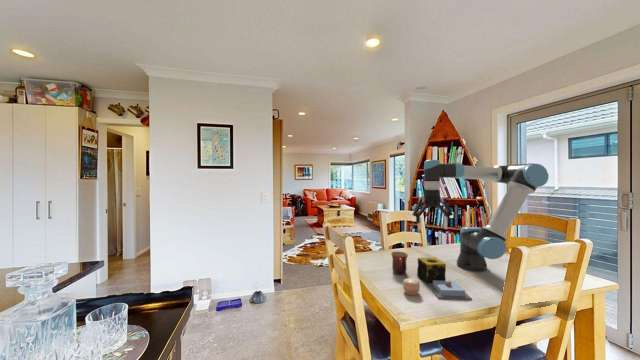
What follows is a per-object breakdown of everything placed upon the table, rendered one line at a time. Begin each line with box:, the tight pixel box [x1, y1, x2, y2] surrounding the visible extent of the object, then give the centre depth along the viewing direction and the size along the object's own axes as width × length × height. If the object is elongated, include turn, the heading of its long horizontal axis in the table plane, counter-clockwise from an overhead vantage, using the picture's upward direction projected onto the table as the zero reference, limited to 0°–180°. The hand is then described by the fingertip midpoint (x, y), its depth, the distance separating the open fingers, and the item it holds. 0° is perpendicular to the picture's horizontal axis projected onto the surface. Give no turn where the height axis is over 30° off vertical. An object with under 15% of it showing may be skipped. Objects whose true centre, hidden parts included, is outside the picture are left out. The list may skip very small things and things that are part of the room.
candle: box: [416, 257, 447, 285], centre depth 128 cm, size 10×10×10 cm
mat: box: [426, 283, 473, 301], centre depth 115 cm, size 14×14×1 cm
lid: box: [433, 280, 466, 296], centre depth 115 cm, size 10×10×4 cm
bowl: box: [402, 277, 421, 296], centre depth 114 cm, size 7×7×5 cm
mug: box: [390, 251, 409, 275], centre depth 136 cm, size 12×9×10 cm
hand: (432, 229), depth 133 cm, fingers open, 13 cm apart
